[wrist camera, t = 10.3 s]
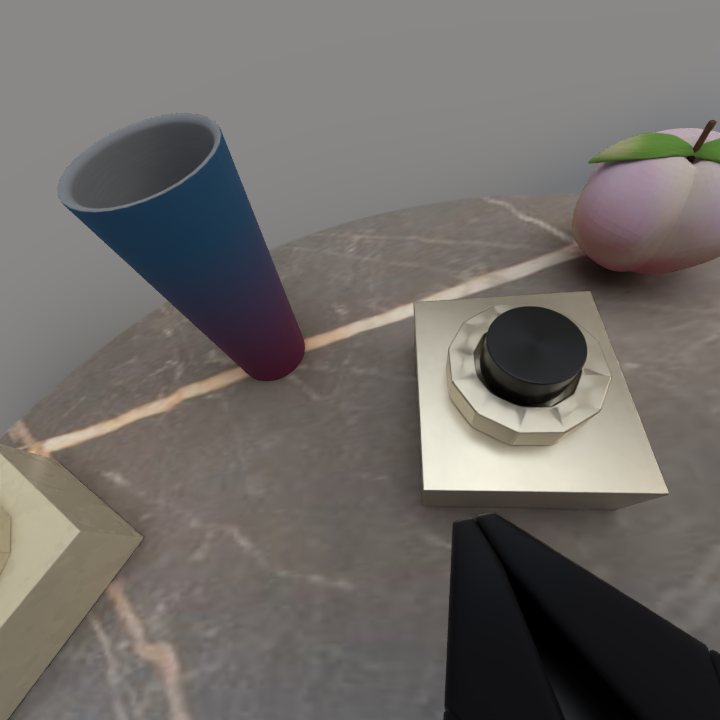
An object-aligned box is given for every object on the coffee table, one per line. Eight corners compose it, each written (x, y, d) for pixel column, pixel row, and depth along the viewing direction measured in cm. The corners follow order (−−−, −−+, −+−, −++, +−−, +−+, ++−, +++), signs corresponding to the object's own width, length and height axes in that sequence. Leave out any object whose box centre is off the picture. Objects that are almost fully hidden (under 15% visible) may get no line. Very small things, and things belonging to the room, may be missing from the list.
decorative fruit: (685, 231, 27) (809, 75, 18) (700, 315, 23) (864, 168, 15) (552, 222, 29) (606, 81, 21) (546, 295, 26) (609, 161, 17)
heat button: (580, 403, 15) (601, 382, 14) (485, 405, 16) (493, 385, 14) (558, 329, 17) (573, 302, 16) (474, 333, 18) (480, 308, 16)
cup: (218, 387, 26) (20, 213, 13) (247, 314, 29) (112, 118, 16) (304, 396, 24) (177, 209, 12) (324, 318, 28) (243, 106, 15)
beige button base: (615, 510, 18) (700, 485, 13) (422, 506, 20) (423, 482, 14) (562, 336, 24) (605, 267, 18) (414, 343, 25) (412, 281, 20)
